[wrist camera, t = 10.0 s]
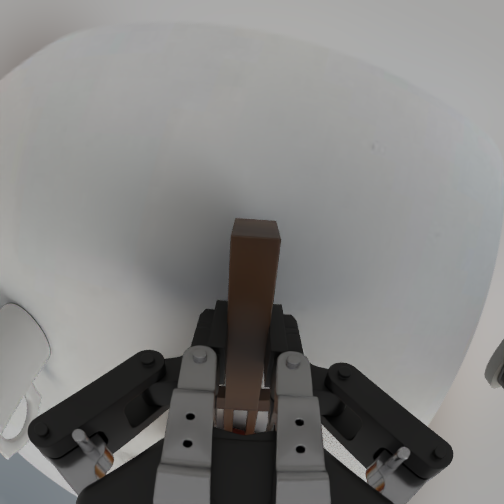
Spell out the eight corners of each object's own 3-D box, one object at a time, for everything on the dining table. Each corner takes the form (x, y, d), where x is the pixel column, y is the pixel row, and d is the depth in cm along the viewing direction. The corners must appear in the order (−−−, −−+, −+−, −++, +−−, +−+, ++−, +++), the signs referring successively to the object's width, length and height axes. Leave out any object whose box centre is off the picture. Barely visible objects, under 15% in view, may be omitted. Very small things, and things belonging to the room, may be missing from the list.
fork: (197, 215, 12) (183, 231, 10) (314, 223, 12) (327, 242, 10) (205, 425, 18) (201, 450, 16) (271, 430, 18) (272, 454, 16)
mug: (-7, 299, 16) (-81, 375, 5) (29, 298, 16) (-62, 398, 4) (39, 381, 20) (-8, 460, 9) (81, 391, 19) (33, 489, 8)
